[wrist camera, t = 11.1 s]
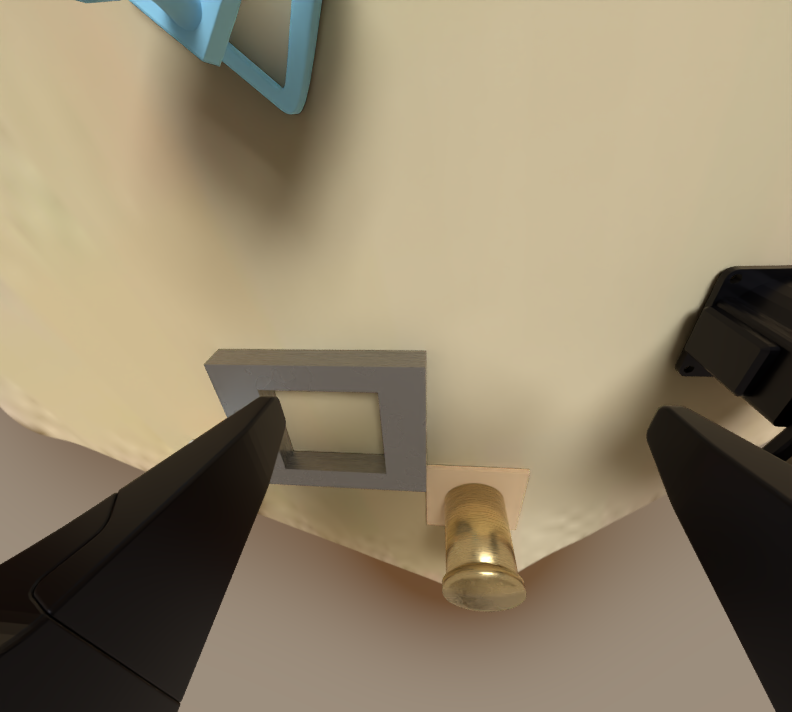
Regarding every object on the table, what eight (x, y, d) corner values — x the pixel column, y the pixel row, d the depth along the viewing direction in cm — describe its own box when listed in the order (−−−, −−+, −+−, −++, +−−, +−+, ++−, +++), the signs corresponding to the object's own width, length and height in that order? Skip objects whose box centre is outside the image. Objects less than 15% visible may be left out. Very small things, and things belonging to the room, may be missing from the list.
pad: (528, 469, 27) (530, 473, 27) (514, 525, 31) (515, 530, 31) (426, 464, 28) (426, 468, 27) (426, 520, 32) (426, 524, 32)
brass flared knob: (512, 482, 27) (532, 578, 22) (503, 522, 30) (519, 614, 25) (441, 479, 28) (443, 571, 22) (440, 518, 31) (441, 607, 25)
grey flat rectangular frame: (426, 350, 22) (425, 367, 20) (426, 472, 28) (426, 491, 27) (218, 349, 23) (203, 364, 22) (265, 465, 30) (256, 482, 28)
